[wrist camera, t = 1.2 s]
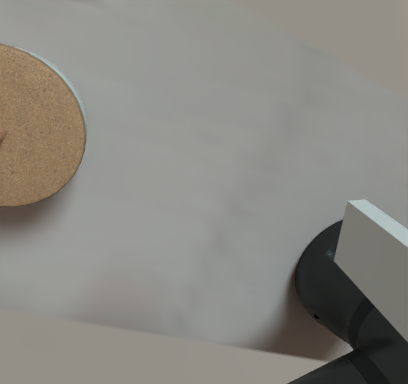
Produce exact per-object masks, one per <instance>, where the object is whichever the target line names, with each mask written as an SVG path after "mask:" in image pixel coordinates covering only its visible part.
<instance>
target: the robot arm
mask: <svg viewBox="0 0 408 384" xmlns="http://www.w3.org/2000/svg"><path fill="white" fill-rule="evenodd" d="M295 285H296V291H297V294H298V297H299V299H300V301H301V302H302V304H303V305H304V307H305V308H306V310H307V311H308V313H309V314H310V315H311V316H312V317H313V318H314V319H315V320H316V321H317V322H319V323H320V324H322V325H323V326H325V327H327V328H328V329H329V330H330V331H331V332H333V333H334V334H335V335H337V336H338V337H340V338H341V339H342V340H344V341H345V342H346V343H348V344H349V345H350V346H351V347H352V349H353V351H352V352H350V353H348V354H346V355H343V356H341V357H339V358H337V359H335V360H333V361H331V362H329V363H327V364H325V365H323V366H321V367H320V368H317V369H315V370H314V371H312V372H310V373H308V374H306V375H304V376H302V377H300V378H298V379H296V380H294V381H292V382H290V383H288V384H408V229H406V228H405V227H404V226H402V225H401V224H399V223H398V222H396V221H395V220H394V219H392V218H391V217H389V216H388V215H387V214H385V213H384V212H382V211H381V210H379V209H378V208H377V207H375V206H374V205H372V204H371V203H370V202H368V201H367V200H352V201H347V205H346V210H345V214H344V218H343V220H341V221H339V222H337V223H335V224H334V225H332V226H330V227H329V228H327V229H326V230H325V231H323V232H322V233H321V234H320V235H319V236H317V237H316V238H315V239H314V241H313V242H312V243H311V244H310V245H309V247H308V248H307V249H306V251H305V252H304V254H303V256H302V258H301V260H300V262H299V265H298V268H297V272H296V278H295Z"/></svg>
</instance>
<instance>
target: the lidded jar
mask: <svg viewBox="0 0 408 384" xmlns="http://www.w3.org/2000/svg"><path fill="white" fill-rule="evenodd" d="M86 138H87V117H86V112H85V108H84V105H83V102H82V100H81V97H80V95H79V93H78V92H77V90H76V88H75V87H74V85H73V84H72V83H71V81H70V80H69V79H68V77H67V76H66V75H65V74H64V73H63V72H62V71H61V70H60V69H58V68H57V67H56V66H55V65H53V64H52V63H51V62H49V61H48V60H46V59H44V58H42V57H41V56H39V55H37V54H34V53H32V52H29V51H27V50H24V49H21V48H17V47H13V46H9V45H4V44H0V206H21V205H28V204H32V203H35V202H39V201H41V200H44V199H46V198H48V197H50V196H52V195H53V194H55V193H56V192H58V191H59V190H61V189H62V188H63V187H64V186H65V185H66V184H67V183H68V182H69V181H70V180H71V178H72V177H73V176H74V174H75V173H76V171H77V169H78V167H79V165H80V163H81V160H82V157H83V154H84V151H85V144H86Z"/></svg>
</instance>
